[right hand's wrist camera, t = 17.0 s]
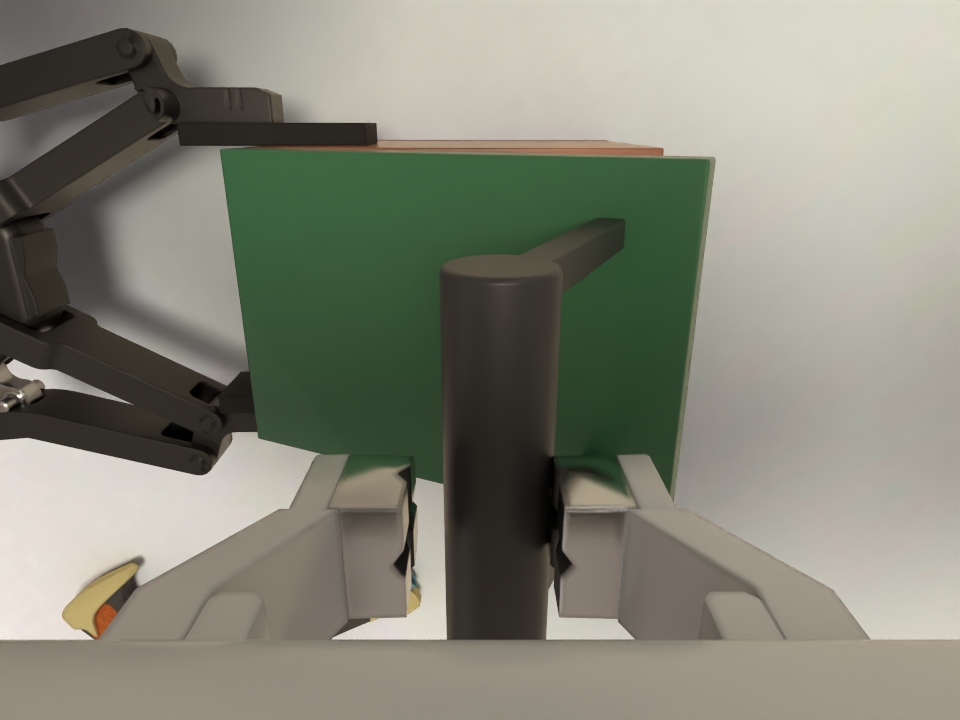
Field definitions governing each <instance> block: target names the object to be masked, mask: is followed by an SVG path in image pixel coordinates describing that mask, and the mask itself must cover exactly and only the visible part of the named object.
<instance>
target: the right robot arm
mask: <svg viewBox="0 0 960 720" xmlns="http://www.w3.org/2000/svg"><path fill="white" fill-rule="evenodd" d="M415 484H416V474H415V461H414V456H402V455H349V454H325V455H317V456H316V457H315V458H314V460H313V462H312V464H311V466H310V468H309V470H308V472H307V474H306V476H305V478H304V480H303V482H302V484H301V486H300V488H299V490H298V492H297V494H296V496H295V498H294V500H293V502H292V504H291V506H290V508H289V509H279V510H277V511H275V512H273V513H271V514H270V515H268V516H266V517H264V518H262V519H261V520H259V521H257V522H255V523H253V524H252V525H250V526H248V527H246V528H244V529H243V530H241V531H239V532H237V533H235V534H234V535H232V536H230V537H228V538H226V539H225V540H223V541H221V542H219V543H217V544H216V545H214V546H212V547H210V548H208V549H207V550H205V551H203V552H201V553H200V554H198V555H196V556H194V557H192V558H191V559H189V560H187V561H185V562H183V563H182V564H180V565H178V566H176V567H174V568H173V569H171V570H169V571H167V572H165V573H164V574H162V575H160V576H158V577H156V578H155V579H153V580H151V581H149V582H147V583H146V584H144V585H142V586H140V587H138V588H137V589H135V591H134V592H133V593H132V595H131V596H130V597H129V599H128V600H127V601H126V603H125V604H124V605H123V607H122V608H121V609H120V611H119V612H118V613H117V615H116V616H115V617H114V619H113V620H112V621H111V623H110V624H109V625H108V627H107V628H106V629H105V631H104V632H103V633H102V635H101V636H100V637H99V639H98V640H0V720H960V640H871V639H870V638H869V637H868V635H867V634H866V633H865V631H864V630H863V629H862V627H861V626H860V625H859V623H858V622H857V621H856V619H855V618H854V617H853V616H852V614H851V613H850V612H849V610H848V609H847V608H846V606H845V605H844V604H843V602H842V601H841V600H840V598H839V597H838V596H837V594H836V593H835V592H834V590H832V589H831V588H829V587H827V586H825V585H823V584H821V583H820V582H818V581H816V580H814V579H812V578H811V577H809V576H807V575H805V574H803V573H802V572H800V571H798V570H796V569H794V568H793V567H791V566H789V565H787V564H785V563H783V562H782V561H780V560H778V559H776V558H774V557H773V556H771V555H769V554H767V553H765V552H764V551H762V550H760V549H758V548H756V547H755V546H753V545H751V544H749V543H747V542H745V541H744V540H742V539H740V538H738V537H736V536H735V535H733V534H731V533H729V532H727V531H726V530H724V529H722V528H720V527H718V526H717V525H715V524H713V523H711V522H709V521H707V520H706V519H704V518H702V517H700V516H698V515H697V514H695V513H693V512H691V511H689V510H688V509H677V508H676V506H675V504H674V502H673V500H672V498H671V496H670V495H669V493H668V491H667V489H666V487H665V485H664V483H663V481H662V479H661V477H660V475H659V474H658V472H657V470H656V468H655V466H654V464H653V462H652V460H651V458H650V456H648V455H646V454H628V455H616V454H610V455H568V456H552V462H551V483H550V489H551V495H552V505H551V508H550V512H549V530H548V549H549V558H550V564H551V566H552V567H553V568H554V589H555V595H556V601H557V607H558V612H559V617H568V618H605V619H618V622H619V623H620V624H621V625H622V626H623V627H624V628H625V629H626V630H627V631H628V632H629V633H630V634H631V635H632V636H633V637H634V638H635V640H331V639H332V638H333V637H334V636H335V635H336V634H337V633H338V632H339V630H340V629H341V628H342V627H343V626H344V625H345V624H346V623H347V622H348V620H347V619H360V618H396V617H407V611H408V604H409V598H410V592H411V568H412V567H413V566H414V565H415V558H416V547H417V505H416V504H415V503H414V502H413V496H414V490H415Z"/></svg>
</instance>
